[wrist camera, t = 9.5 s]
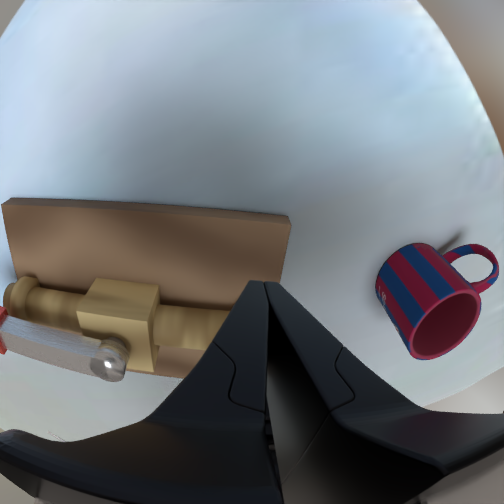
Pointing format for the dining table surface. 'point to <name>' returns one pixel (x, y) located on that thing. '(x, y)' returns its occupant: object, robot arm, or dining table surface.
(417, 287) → the mug
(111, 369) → the lever
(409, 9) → the dining table surface
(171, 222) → the valve board
